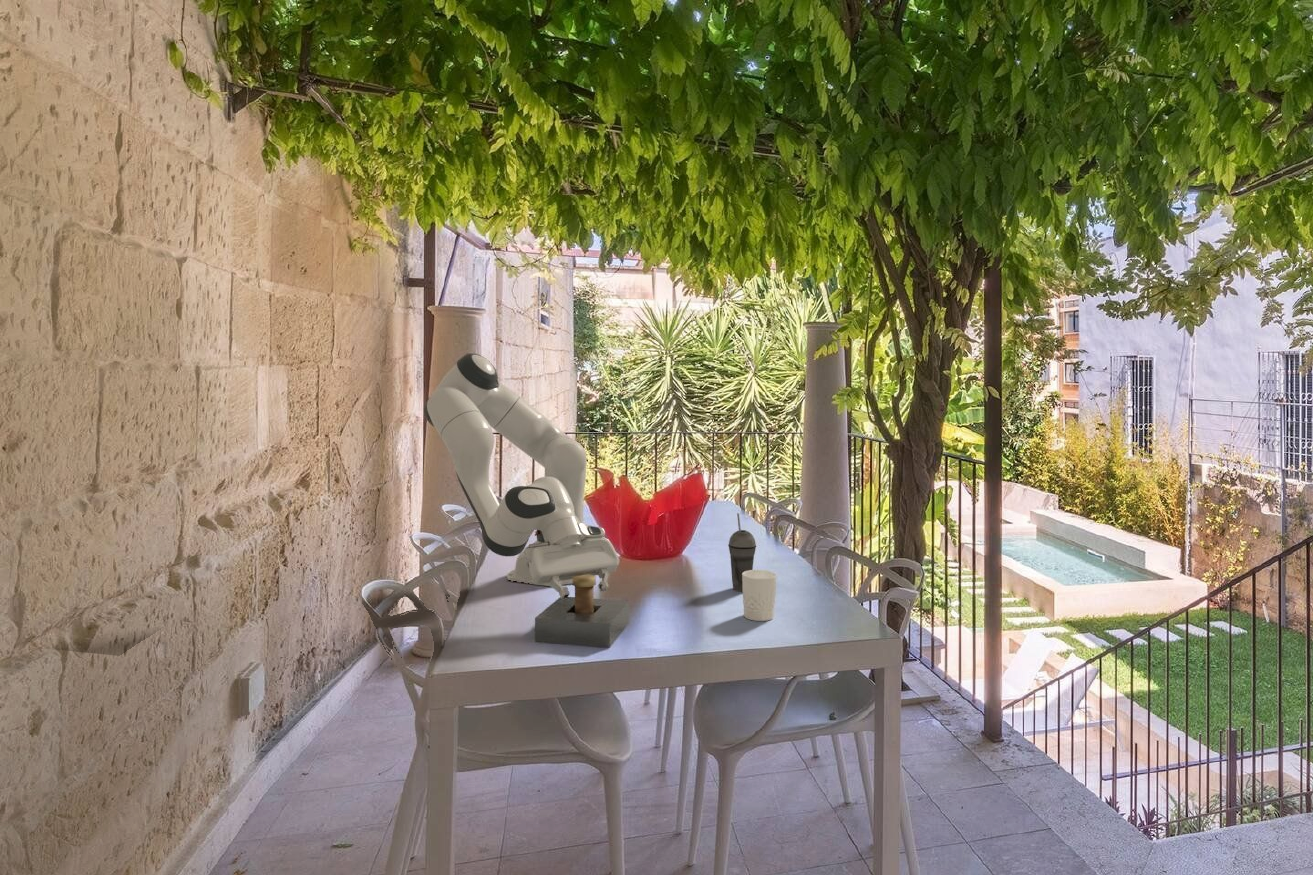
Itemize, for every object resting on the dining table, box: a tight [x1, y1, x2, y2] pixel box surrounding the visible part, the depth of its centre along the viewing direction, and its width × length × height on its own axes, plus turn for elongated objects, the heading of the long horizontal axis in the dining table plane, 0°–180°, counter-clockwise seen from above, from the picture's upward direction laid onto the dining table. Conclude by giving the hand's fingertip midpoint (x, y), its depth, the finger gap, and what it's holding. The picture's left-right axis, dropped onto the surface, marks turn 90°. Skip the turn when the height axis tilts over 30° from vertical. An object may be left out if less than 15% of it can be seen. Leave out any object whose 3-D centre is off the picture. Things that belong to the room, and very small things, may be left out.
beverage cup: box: [727, 513, 757, 593], centre depth 189 cm, size 7×7×20 cm
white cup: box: [742, 569, 778, 622], centre depth 167 cm, size 8×8×10 cm
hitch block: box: [534, 596, 630, 649], centre depth 156 cm, size 16×16×5 cm
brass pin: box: [572, 574, 597, 614], centre depth 156 cm, size 5×5×12 cm
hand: (585, 593), depth 156 cm, fingers open, 8 cm apart
